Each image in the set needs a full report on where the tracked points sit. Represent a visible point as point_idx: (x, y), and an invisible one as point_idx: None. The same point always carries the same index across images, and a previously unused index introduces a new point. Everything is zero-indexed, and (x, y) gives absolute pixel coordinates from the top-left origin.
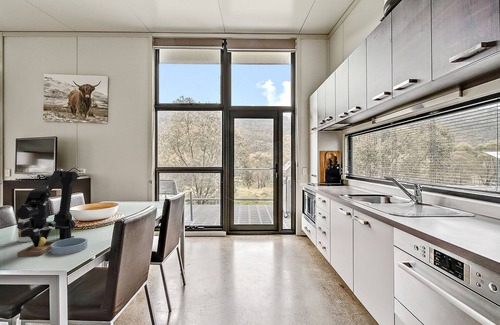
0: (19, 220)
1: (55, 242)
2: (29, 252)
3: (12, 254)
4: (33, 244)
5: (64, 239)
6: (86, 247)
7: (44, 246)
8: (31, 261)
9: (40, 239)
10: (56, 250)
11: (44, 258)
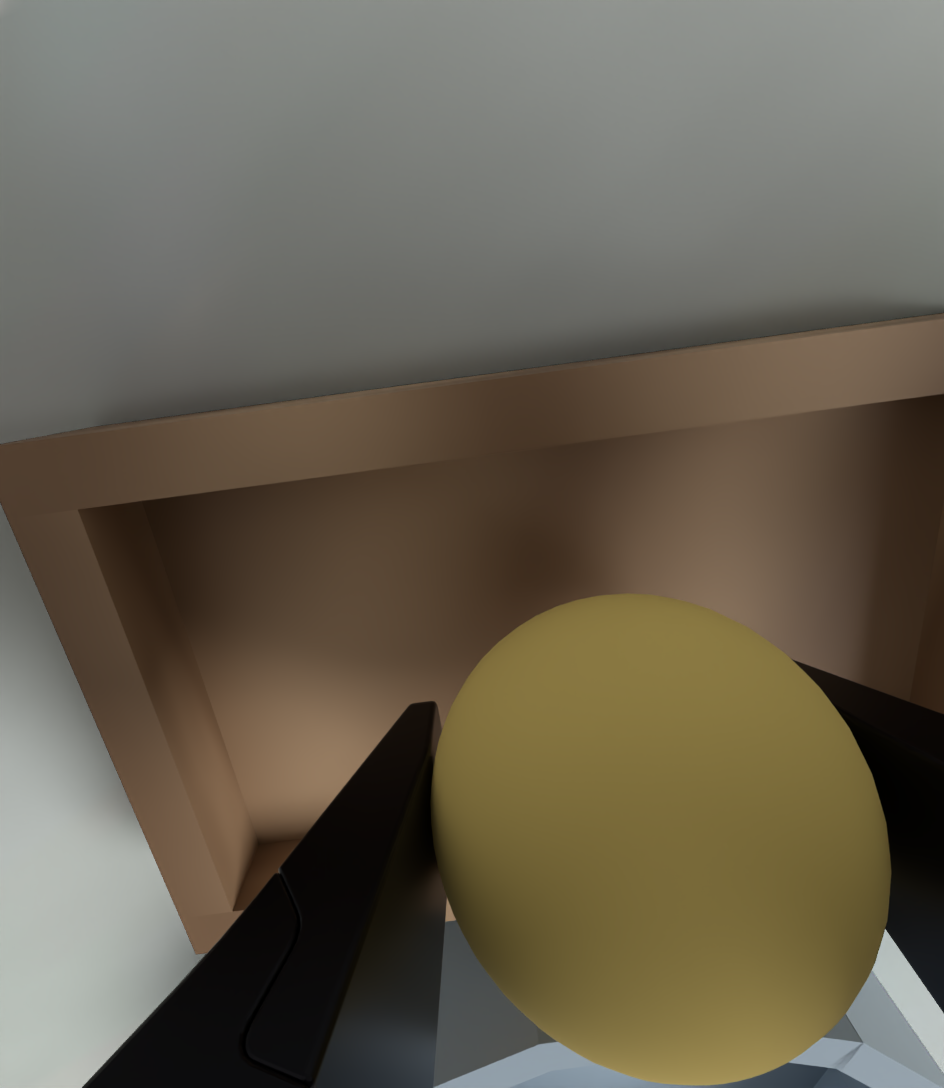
0: None
1: None
2: (117, 749)
3: (303, 5)
4: (825, 336)
5: (909, 1079)
6: None
7: (791, 596)
8: (5, 853)
9: (541, 1028)
10: None
11: (183, 942)
